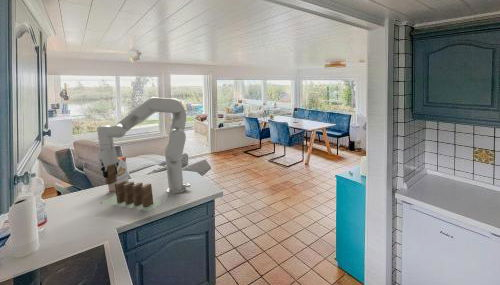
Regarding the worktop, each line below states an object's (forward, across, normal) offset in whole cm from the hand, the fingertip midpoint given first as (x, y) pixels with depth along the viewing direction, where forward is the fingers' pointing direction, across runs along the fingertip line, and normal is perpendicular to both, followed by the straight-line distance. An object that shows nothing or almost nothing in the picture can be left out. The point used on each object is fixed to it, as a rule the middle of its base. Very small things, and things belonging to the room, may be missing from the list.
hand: (110, 175), depth 168 cm
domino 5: (+15, 0, +26) cm, 31 cm away
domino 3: (+16, 0, +13) cm, 20 cm away
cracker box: (+16, -18, -14) cm, 28 cm away
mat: (+16, 0, +13) cm, 21 cm away
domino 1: (+5, 0, 0) cm, 5 cm away
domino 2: (+16, 0, +7) cm, 17 cm away
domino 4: (+16, 0, +20) cm, 25 cm away
